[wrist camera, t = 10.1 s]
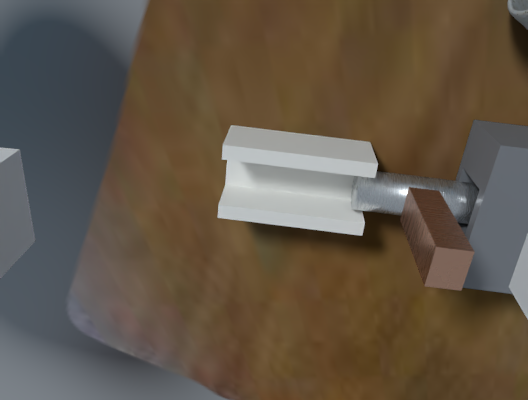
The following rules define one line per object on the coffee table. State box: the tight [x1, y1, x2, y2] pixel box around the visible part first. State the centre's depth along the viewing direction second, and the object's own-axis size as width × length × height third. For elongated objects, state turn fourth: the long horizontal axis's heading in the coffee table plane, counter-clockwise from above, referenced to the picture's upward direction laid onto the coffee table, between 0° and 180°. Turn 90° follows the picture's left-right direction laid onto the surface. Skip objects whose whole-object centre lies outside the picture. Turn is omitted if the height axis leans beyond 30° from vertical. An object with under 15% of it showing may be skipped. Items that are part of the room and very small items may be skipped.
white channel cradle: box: [218, 125, 378, 236], centre depth 42 cm, size 6×12×5 cm, turn 84°
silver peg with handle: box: [351, 171, 479, 291], centre depth 37 cm, size 3×16×12 cm, turn 84°
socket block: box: [456, 120, 528, 294], centre depth 41 cm, size 12×9×6 cm
